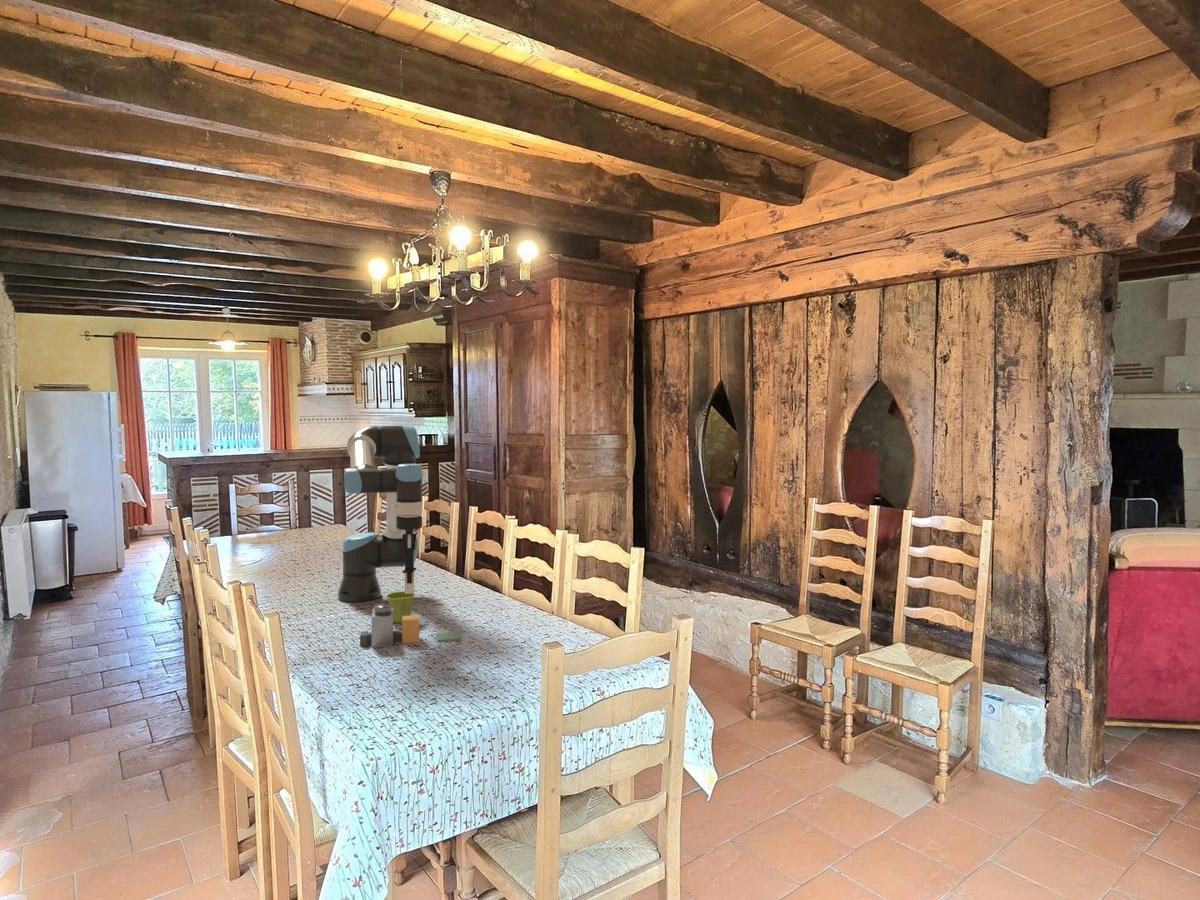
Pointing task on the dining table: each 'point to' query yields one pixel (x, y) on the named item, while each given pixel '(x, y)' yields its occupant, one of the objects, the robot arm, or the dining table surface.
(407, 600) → the plant pot
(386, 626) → the housing
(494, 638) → the dining table surface
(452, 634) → the mat
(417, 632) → the plug
